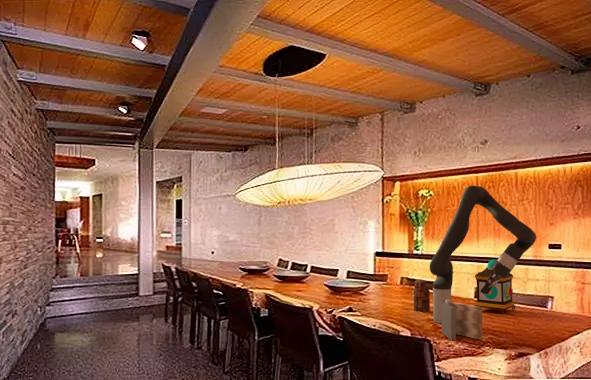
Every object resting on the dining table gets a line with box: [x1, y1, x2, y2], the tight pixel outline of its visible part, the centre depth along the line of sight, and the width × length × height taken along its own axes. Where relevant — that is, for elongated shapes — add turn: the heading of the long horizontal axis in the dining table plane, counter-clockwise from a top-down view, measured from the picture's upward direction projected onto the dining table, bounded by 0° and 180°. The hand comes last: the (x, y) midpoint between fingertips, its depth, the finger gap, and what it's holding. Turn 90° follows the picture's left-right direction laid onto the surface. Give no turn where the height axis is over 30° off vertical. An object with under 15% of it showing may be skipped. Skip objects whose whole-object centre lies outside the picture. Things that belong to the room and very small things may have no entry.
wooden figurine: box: [413, 279, 431, 313], centre depth 278 cm, size 12×6×18 cm, turn 33°
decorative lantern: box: [474, 259, 516, 316], centre depth 278 cm, size 20×20×30 cm
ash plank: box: [449, 301, 484, 340], centre depth 216 cm, size 16×2×14 cm, turn 35°
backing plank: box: [441, 299, 457, 341], centre depth 218 cm, size 17×5×15 cm, turn 0°
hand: (483, 293), depth 218 cm, fingers open, 8 cm apart
